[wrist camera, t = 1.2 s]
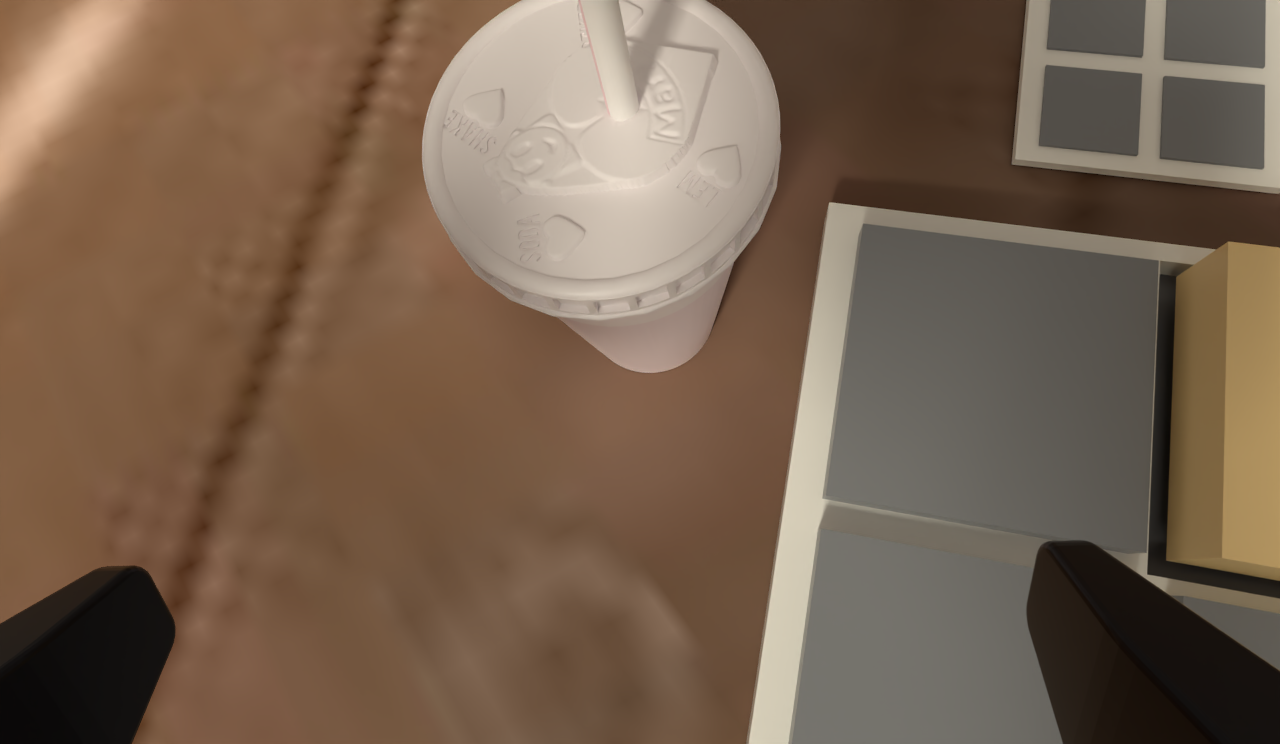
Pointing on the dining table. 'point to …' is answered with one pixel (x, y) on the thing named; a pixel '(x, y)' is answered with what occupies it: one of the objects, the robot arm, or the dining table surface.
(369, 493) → the dining table surface
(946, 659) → the button board
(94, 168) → the dining table surface
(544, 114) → the smoothie
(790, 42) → the dining table surface
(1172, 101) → the pattern card
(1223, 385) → the amber button
